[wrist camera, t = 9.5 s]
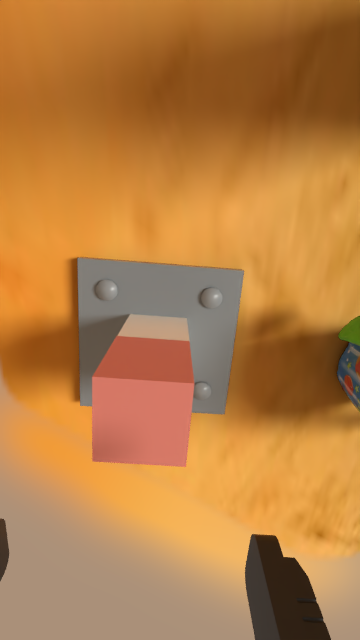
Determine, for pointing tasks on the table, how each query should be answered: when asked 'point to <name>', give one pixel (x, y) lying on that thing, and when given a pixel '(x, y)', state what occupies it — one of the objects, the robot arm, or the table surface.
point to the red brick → (143, 402)
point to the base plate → (161, 300)
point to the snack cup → (351, 362)
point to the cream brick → (155, 327)
